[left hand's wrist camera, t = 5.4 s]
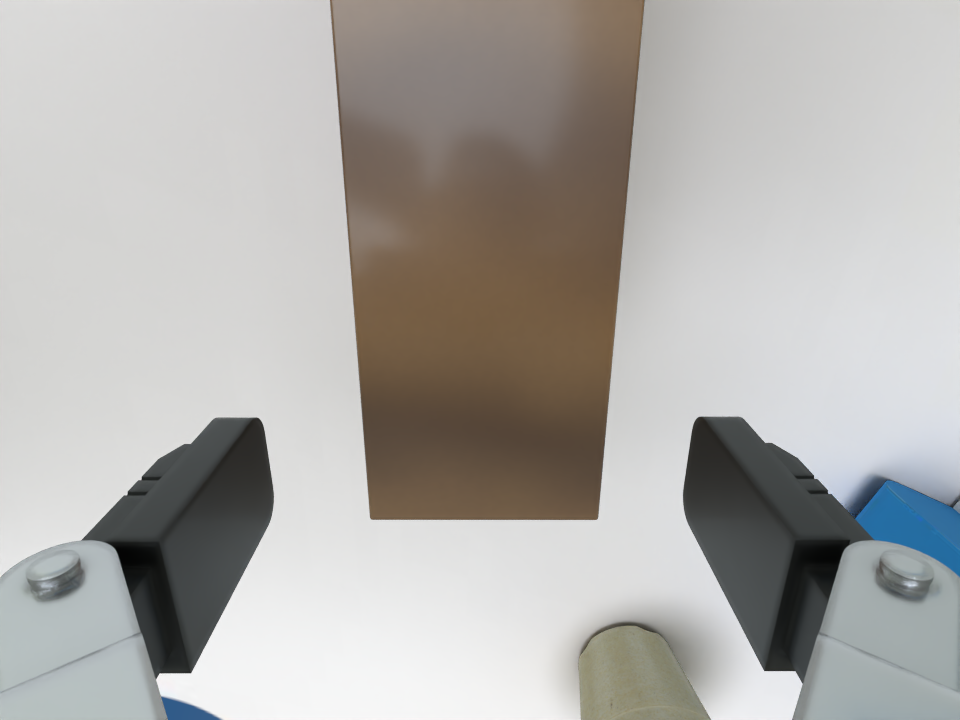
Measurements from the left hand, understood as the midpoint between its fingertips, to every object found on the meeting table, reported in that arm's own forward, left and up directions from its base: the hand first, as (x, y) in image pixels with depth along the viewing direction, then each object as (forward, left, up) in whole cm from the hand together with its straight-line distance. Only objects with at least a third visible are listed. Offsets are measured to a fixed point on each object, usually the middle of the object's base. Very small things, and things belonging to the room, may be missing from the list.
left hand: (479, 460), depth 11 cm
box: (+10, 0, -12) cm, 16 cm away
